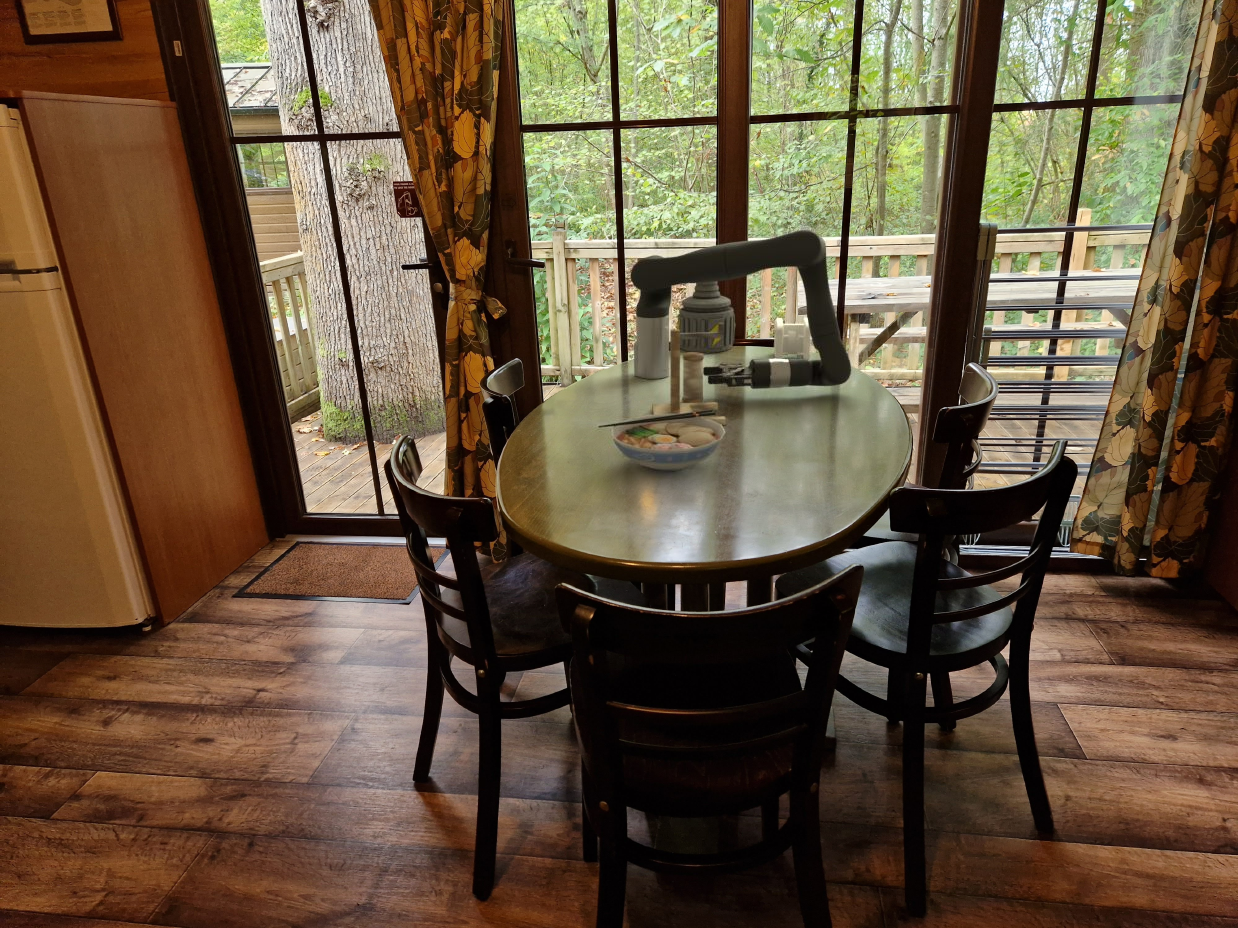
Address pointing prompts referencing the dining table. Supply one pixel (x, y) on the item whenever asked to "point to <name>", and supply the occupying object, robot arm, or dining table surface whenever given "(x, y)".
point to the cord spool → (693, 377)
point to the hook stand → (675, 378)
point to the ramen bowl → (668, 439)
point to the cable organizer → (791, 339)
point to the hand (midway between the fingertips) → (705, 375)
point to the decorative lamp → (706, 319)
